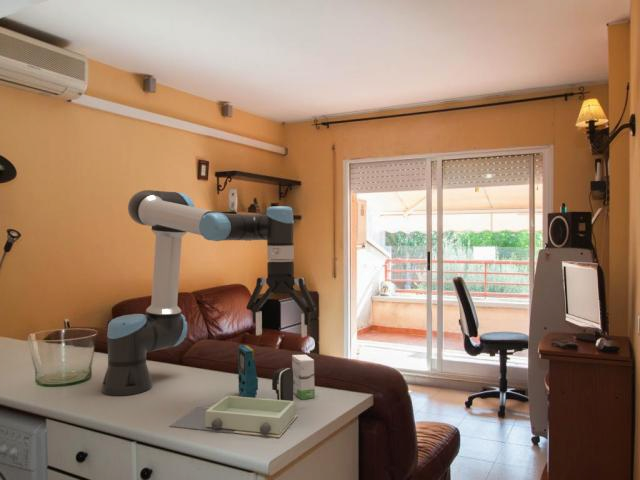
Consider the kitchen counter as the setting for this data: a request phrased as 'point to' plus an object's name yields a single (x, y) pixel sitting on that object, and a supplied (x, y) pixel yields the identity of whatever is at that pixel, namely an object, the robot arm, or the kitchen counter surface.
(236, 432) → the track
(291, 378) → the battery charger
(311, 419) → the kitchen counter surface
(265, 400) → the shallow sage green tray
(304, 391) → the ink box
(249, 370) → the handheld gaming console
